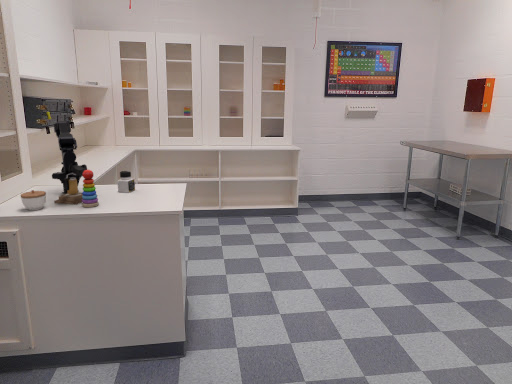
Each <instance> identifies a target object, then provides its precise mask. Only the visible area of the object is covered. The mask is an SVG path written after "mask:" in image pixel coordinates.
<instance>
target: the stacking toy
mask: <svg viewBox="0 0 512 384" xmlns="http://www.w3.org/2000/svg"><path fill="white" fill-rule="evenodd" d="M82 175H83V176H82V178H83V180H82V182H83V184H82V192H81V193H82V194H83V196H82V198H83V199H82V202H81V206H82V207H84V208H95V207H97V206H99V204H100V203H99V201H98V200H99V198H98V195H97V191H96V189H97V188H96V185H95V183H94V182H95V179H93V177H94V172H93V171H92V169H87V170H85V171H84V172H83V174H82Z"/></svg>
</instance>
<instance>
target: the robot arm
mask: <svg viewBox="0 0 512 384" xmlns="http://www.w3.org/2000/svg"><path fill="white" fill-rule="evenodd" d="M71 127H72V126H71V123H70V122H68V121H66V120H59V121H56V123H53V131H54V134H55V136H56V138H57V140H58V141H57V143H58V149H59V151H61V157H62V161H61V165H62V168H61V169H60V171H58V172H53V173H52V174H51V178H52V180H53V179H54V180H58V181H60V183H61V184H62V189H63V191H61V194H67V190H69V179H70V177H75V178H76V179H77V186H78V187H79V184H80V180H81V178H83V175H82V174H83V172H84V171H85V170H88V167H87V165H86V164H81V165H79V164H78V161H76V160H77V155H76V153H75V151H74V150H77V148H78V144H77V140H76V138H75V137H74V135H73V134H72V133H71V132H72V129H71Z"/></svg>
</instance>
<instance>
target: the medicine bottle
mask: <svg viewBox="0 0 512 384" xmlns="http://www.w3.org/2000/svg"><path fill="white" fill-rule="evenodd" d="M119 178H120V179H118V180H116V181H117V182H116V183H117V191H118V193H128V194H129V193H131V192H134V191H135V190H136V183H135V178H132V171H130V170H123V171H122V170H121V171H120V172H119Z"/></svg>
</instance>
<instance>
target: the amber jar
mask: <svg viewBox="0 0 512 384" xmlns="http://www.w3.org/2000/svg"><path fill="white" fill-rule="evenodd" d="M78 188H79V185H78V186H77V179H76V178H75V177H70V179H69V190H67V193H68V194H76V193H78V192H79V189H78Z"/></svg>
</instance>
